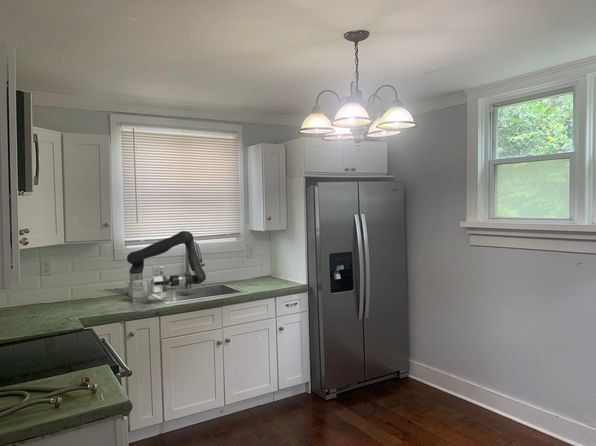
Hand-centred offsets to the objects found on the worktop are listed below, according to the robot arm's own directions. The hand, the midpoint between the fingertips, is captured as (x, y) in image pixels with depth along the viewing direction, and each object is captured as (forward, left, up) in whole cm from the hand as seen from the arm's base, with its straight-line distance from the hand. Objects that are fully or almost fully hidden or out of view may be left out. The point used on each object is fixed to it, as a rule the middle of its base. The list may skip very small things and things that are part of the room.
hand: (153, 283), depth 300 cm
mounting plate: (-6, -9, -16) cm, 19 cm away
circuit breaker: (-17, +9, -16) cm, 25 cm away
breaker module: (+1, +2, -6) cm, 7 cm away
